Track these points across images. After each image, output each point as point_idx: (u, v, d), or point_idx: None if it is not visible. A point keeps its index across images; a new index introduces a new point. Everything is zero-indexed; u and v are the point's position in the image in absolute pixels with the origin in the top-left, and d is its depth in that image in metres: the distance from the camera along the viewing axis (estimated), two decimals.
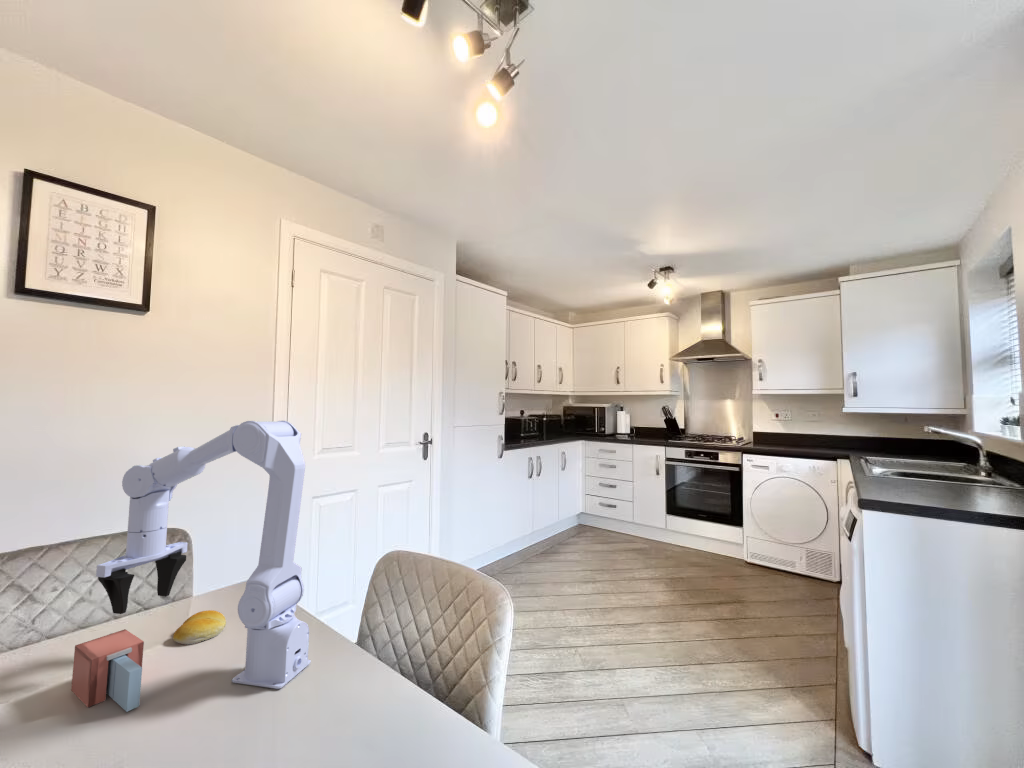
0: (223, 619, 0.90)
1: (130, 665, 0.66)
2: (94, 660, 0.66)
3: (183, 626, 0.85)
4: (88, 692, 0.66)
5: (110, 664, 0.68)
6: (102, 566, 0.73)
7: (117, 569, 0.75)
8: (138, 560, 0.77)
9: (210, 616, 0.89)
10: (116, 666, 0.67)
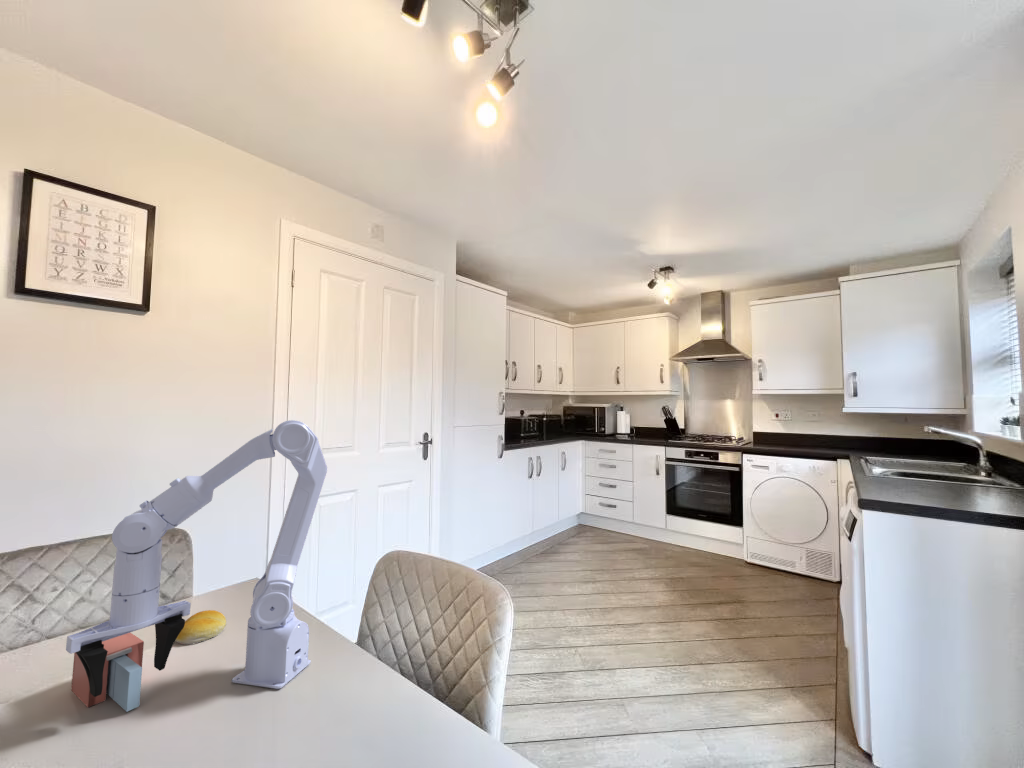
0: (223, 619, 0.90)
1: (130, 665, 0.66)
2: None
3: None
4: (88, 692, 0.66)
5: (110, 664, 0.68)
6: (70, 639, 0.60)
7: (91, 641, 0.62)
8: (115, 631, 0.63)
9: (210, 616, 0.89)
10: (116, 666, 0.67)
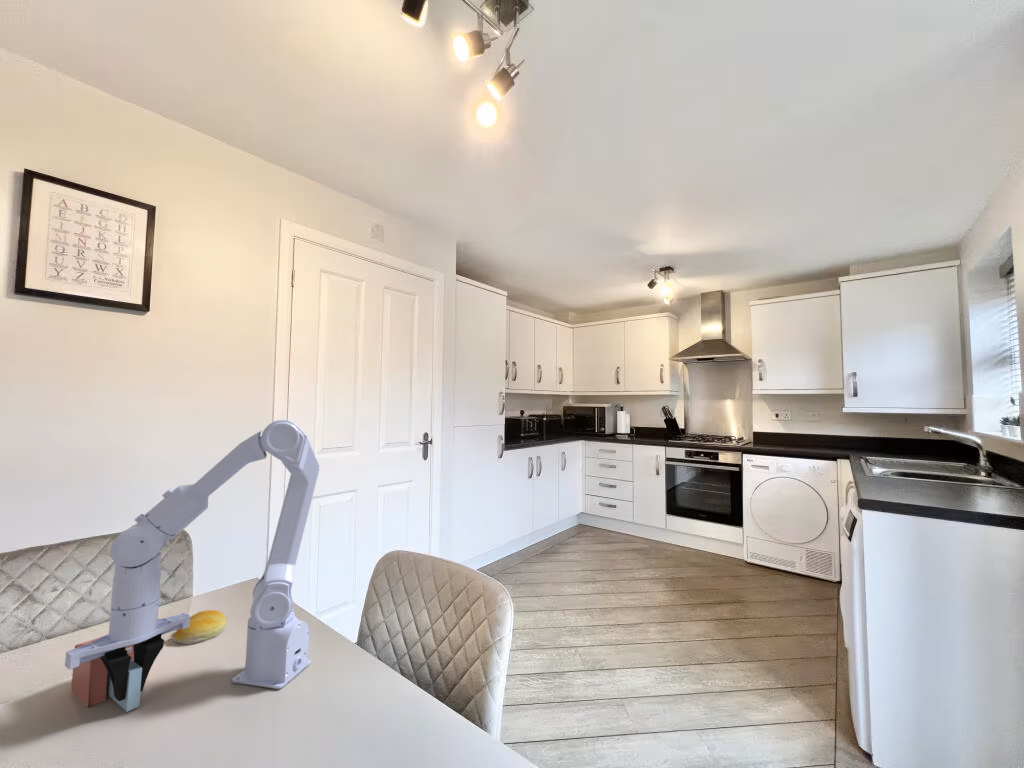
0: (223, 619, 0.90)
1: (130, 665, 0.66)
2: (94, 660, 0.66)
3: None
4: (88, 692, 0.66)
5: None
6: (69, 655, 0.60)
7: (90, 656, 0.62)
8: (114, 646, 0.63)
9: (210, 616, 0.89)
10: None
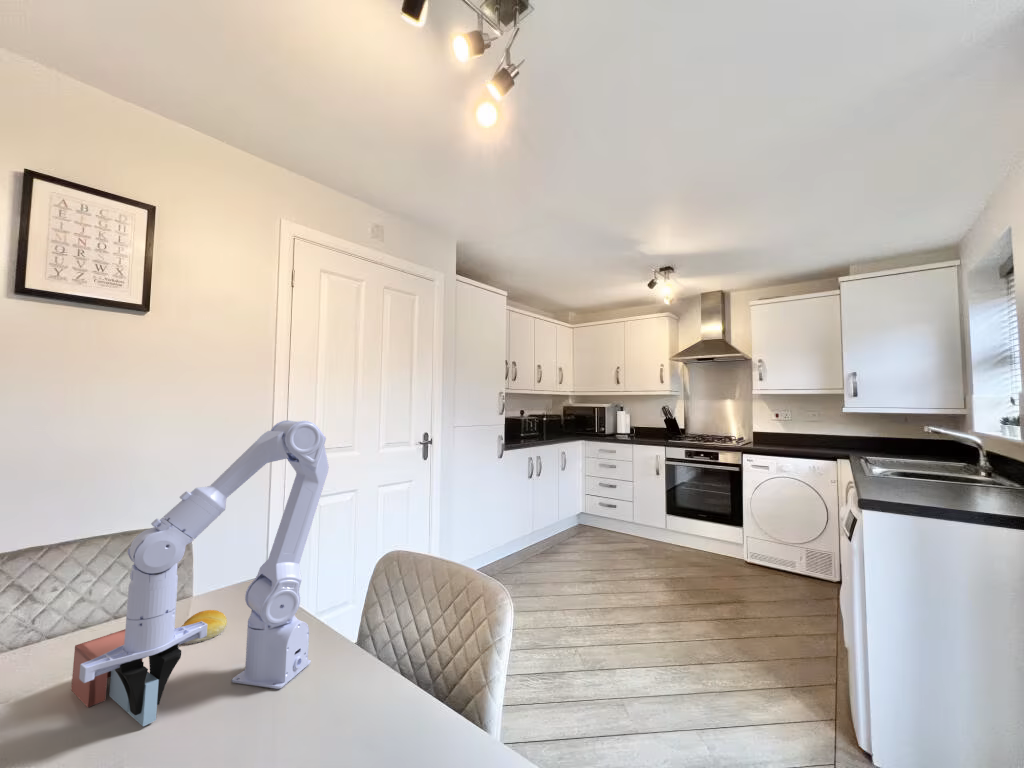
0: (224, 619, 0.90)
1: (146, 677, 0.63)
2: None
3: None
4: (88, 692, 0.66)
5: None
6: (83, 667, 0.57)
7: (106, 669, 0.59)
8: (130, 657, 0.60)
9: (211, 615, 0.89)
10: None
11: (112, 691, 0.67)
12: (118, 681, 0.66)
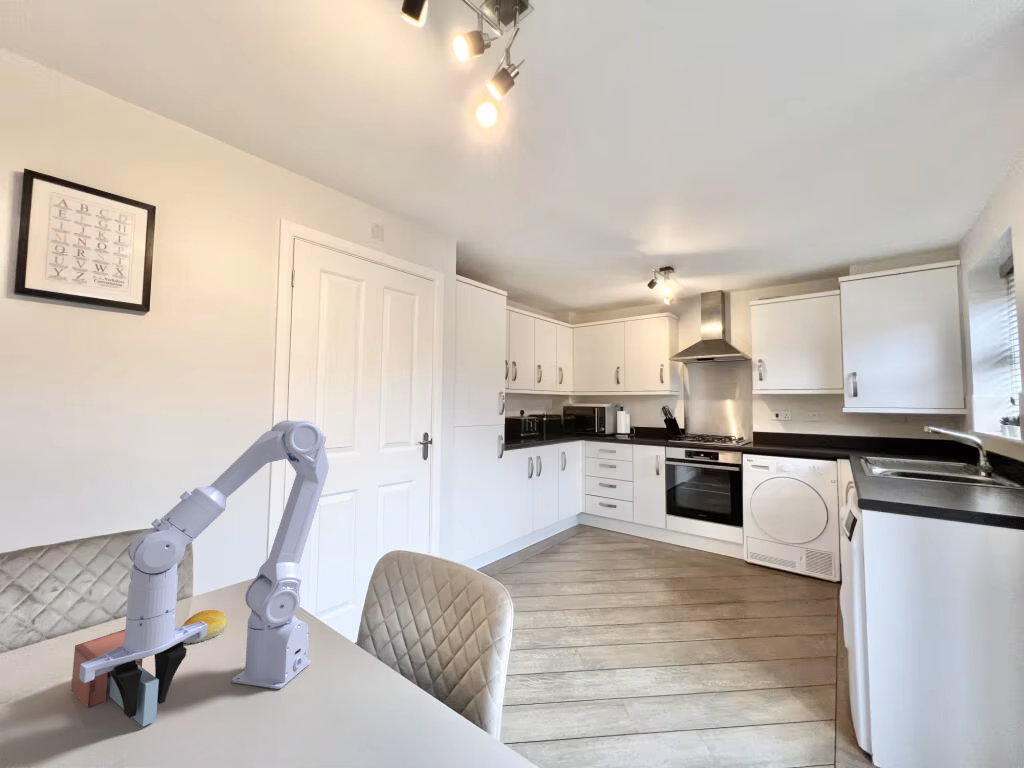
0: (224, 619, 0.90)
1: (146, 677, 0.63)
2: None
3: None
4: (88, 692, 0.66)
5: None
6: (83, 667, 0.57)
7: (106, 669, 0.59)
8: (130, 657, 0.60)
9: (211, 615, 0.89)
10: None
11: (112, 691, 0.67)
12: None
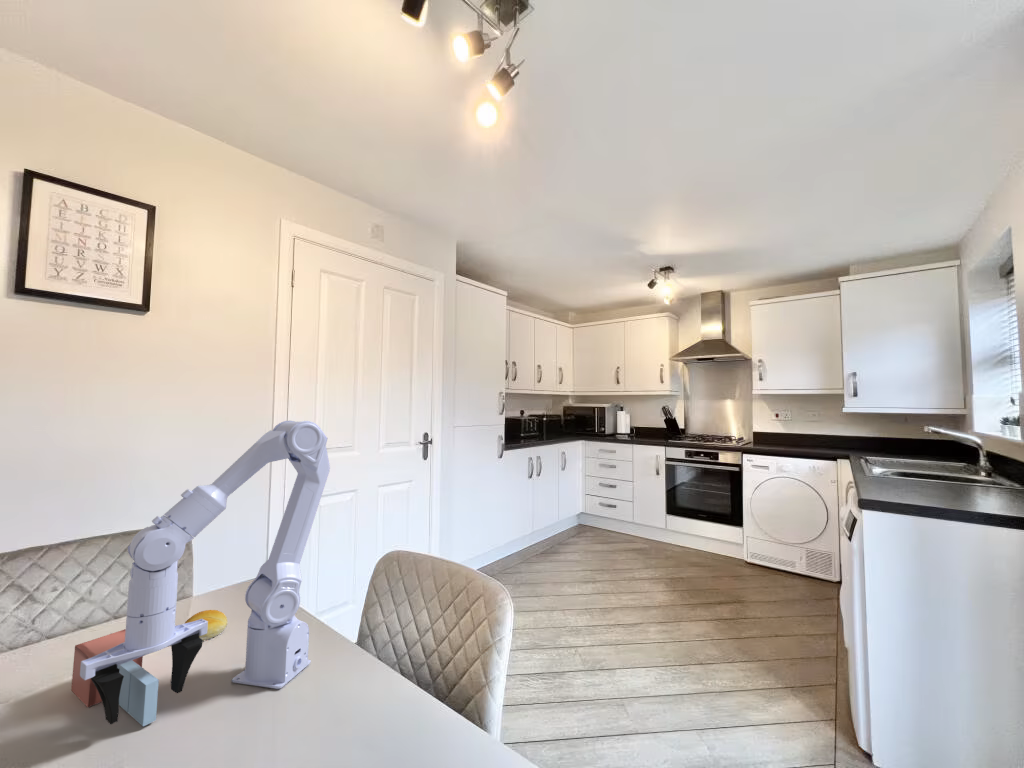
0: (224, 619, 0.90)
1: (146, 677, 0.63)
2: None
3: None
4: (88, 692, 0.66)
5: (124, 676, 0.65)
6: (84, 664, 0.57)
7: (106, 666, 0.59)
8: (131, 655, 0.60)
9: (211, 615, 0.89)
10: (131, 678, 0.64)
11: None
12: None
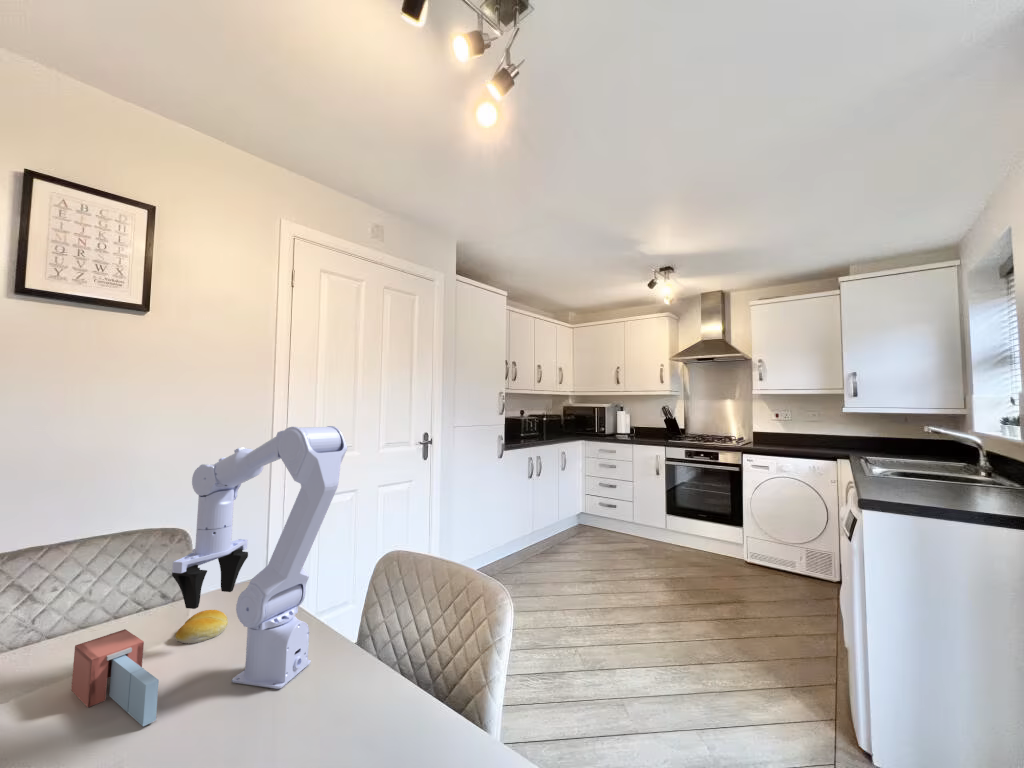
0: (225, 619, 0.90)
1: (146, 677, 0.63)
2: (94, 660, 0.66)
3: (185, 625, 0.85)
4: (88, 692, 0.66)
5: (124, 676, 0.65)
6: (179, 562, 0.75)
7: (190, 565, 0.77)
8: (209, 556, 0.79)
9: (212, 615, 0.89)
10: (131, 678, 0.64)
11: (112, 691, 0.67)
12: (118, 681, 0.66)
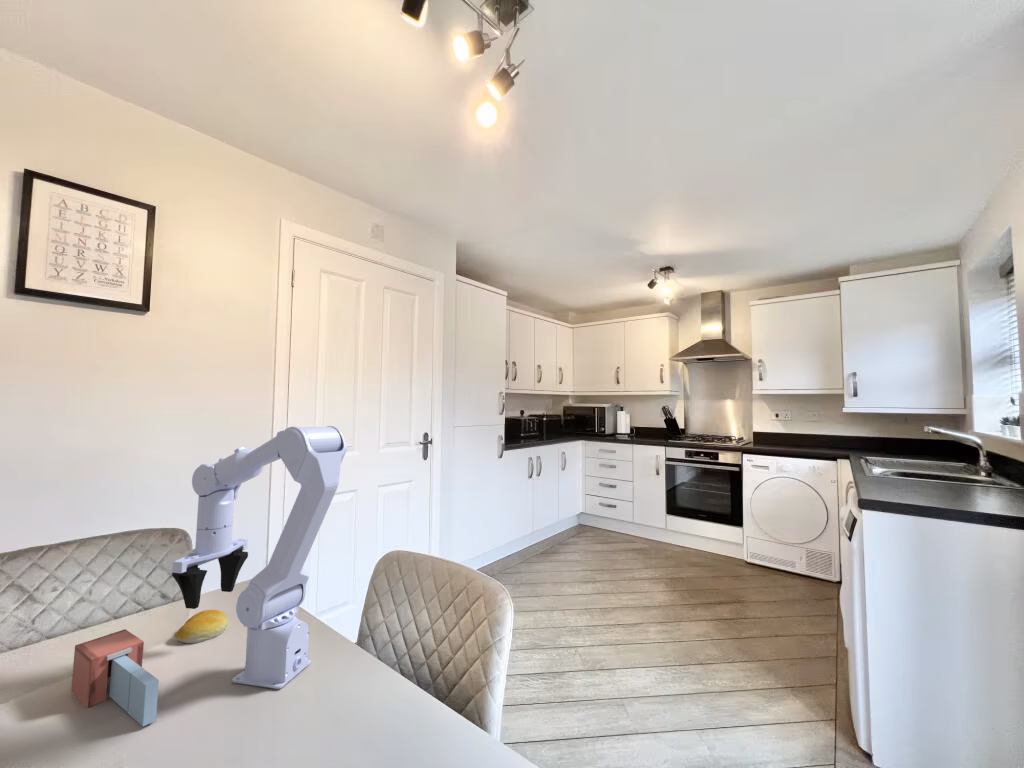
0: (225, 619, 0.90)
1: (146, 677, 0.63)
2: (94, 660, 0.66)
3: (186, 625, 0.85)
4: (88, 692, 0.66)
5: (124, 676, 0.65)
6: (179, 562, 0.75)
7: (190, 565, 0.77)
8: (209, 556, 0.79)
9: (212, 615, 0.89)
10: (131, 678, 0.64)
11: (112, 691, 0.67)
12: (118, 681, 0.66)
